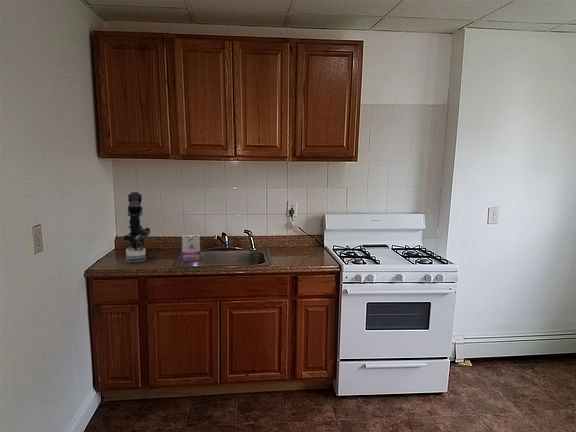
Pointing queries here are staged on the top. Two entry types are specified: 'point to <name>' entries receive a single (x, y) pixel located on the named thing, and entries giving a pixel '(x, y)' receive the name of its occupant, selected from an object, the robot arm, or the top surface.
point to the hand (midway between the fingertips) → (135, 249)
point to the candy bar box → (191, 248)
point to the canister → (135, 255)
